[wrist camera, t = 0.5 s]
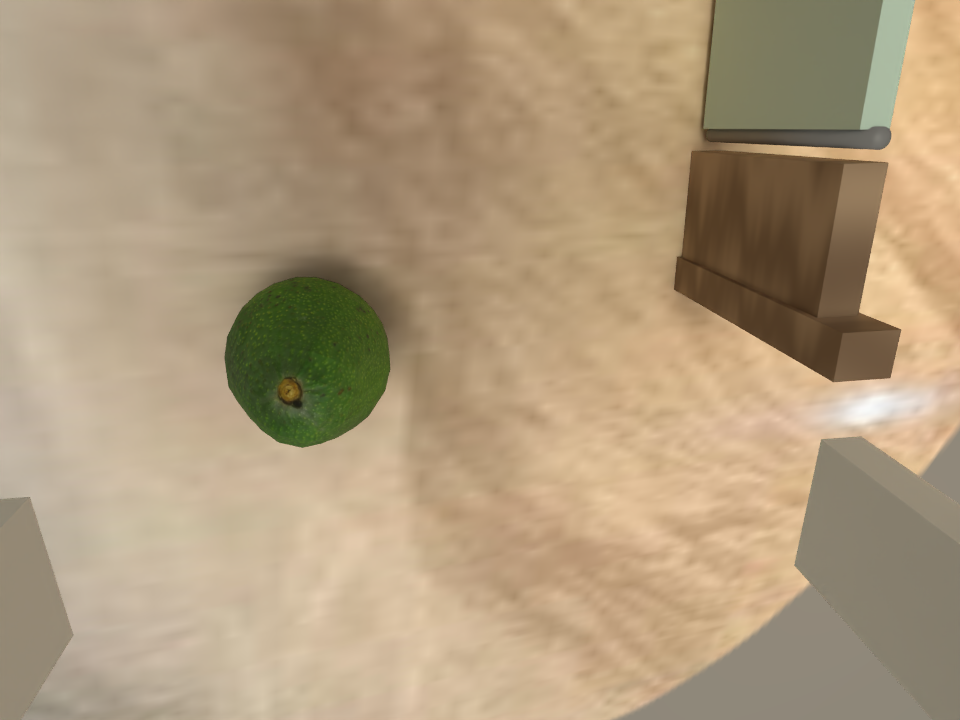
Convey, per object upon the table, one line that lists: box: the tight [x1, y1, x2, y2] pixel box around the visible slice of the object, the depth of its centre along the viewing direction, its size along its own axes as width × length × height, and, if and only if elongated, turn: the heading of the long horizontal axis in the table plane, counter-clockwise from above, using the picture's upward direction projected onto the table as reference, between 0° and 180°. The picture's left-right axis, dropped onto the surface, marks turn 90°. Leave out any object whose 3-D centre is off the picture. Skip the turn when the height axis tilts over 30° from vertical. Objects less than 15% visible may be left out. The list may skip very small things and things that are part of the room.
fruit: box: [225, 277, 390, 448], centre depth 31 cm, size 8×8×12 cm
